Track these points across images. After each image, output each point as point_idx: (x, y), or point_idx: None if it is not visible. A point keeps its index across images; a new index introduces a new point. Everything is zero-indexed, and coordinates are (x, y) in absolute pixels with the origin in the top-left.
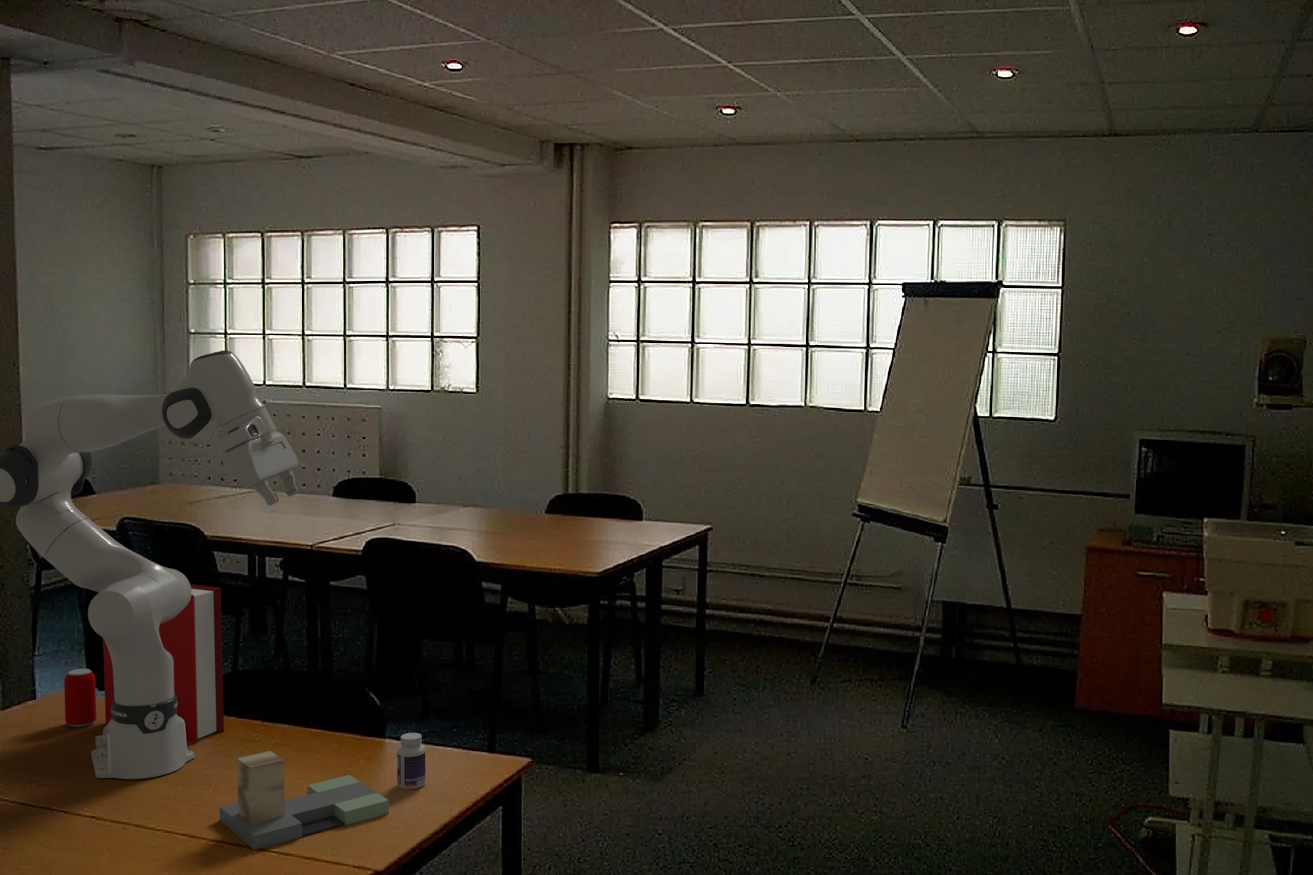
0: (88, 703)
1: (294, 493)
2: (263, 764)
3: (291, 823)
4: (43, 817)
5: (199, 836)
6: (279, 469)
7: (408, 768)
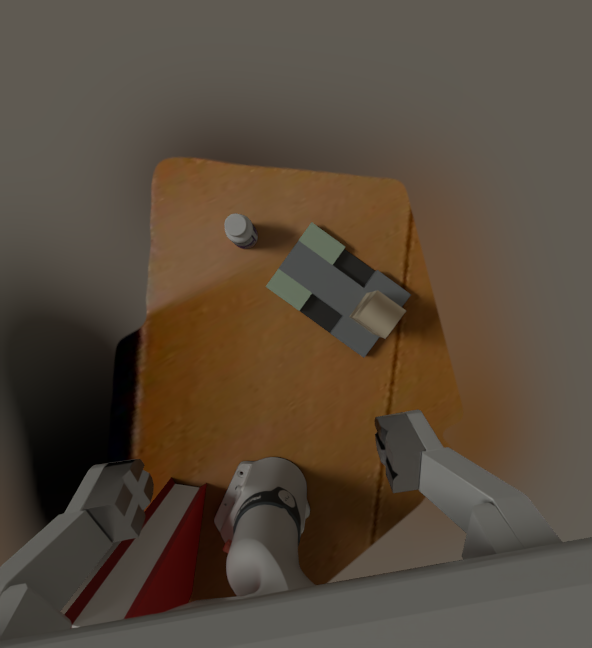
0: None
1: (138, 463)
2: (394, 303)
3: (380, 278)
4: (394, 496)
5: (394, 352)
6: (239, 634)
7: (254, 228)
